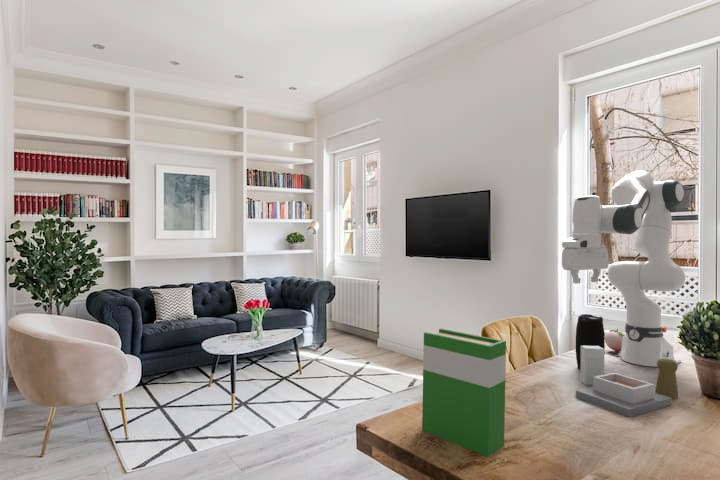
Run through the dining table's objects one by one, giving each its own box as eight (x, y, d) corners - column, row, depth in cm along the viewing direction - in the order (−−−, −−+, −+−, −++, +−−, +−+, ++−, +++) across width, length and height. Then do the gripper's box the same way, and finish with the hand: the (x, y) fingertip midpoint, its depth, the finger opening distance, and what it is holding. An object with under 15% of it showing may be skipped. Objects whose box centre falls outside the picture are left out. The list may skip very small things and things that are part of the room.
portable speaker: (577, 364, 166) (578, 312, 165) (605, 369, 160) (607, 316, 160) (572, 370, 159) (574, 316, 158) (602, 375, 153) (603, 319, 153)
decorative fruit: (599, 350, 188) (599, 326, 187) (614, 349, 190) (614, 326, 190) (618, 356, 179) (618, 331, 178) (633, 354, 181) (634, 330, 181)
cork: (682, 399, 131) (683, 363, 131) (660, 398, 132) (660, 361, 132) (672, 392, 137) (673, 357, 137) (651, 391, 138) (651, 356, 138)
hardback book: (422, 430, 108) (423, 332, 107) (439, 421, 113) (441, 328, 113) (488, 456, 95) (490, 346, 95) (504, 445, 101) (506, 341, 100)
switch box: (617, 387, 141) (617, 368, 141) (671, 404, 127) (671, 384, 127) (575, 396, 132) (576, 377, 132) (629, 416, 118) (629, 394, 118)
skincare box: (598, 381, 146) (599, 345, 146) (604, 385, 142) (605, 349, 142) (579, 380, 147) (580, 345, 147) (584, 385, 143) (585, 348, 143)
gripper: (597, 242, 158) (596, 280, 159) (558, 242, 149) (558, 283, 149) (614, 242, 153) (613, 282, 153) (575, 242, 143) (574, 285, 144)
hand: (585, 282), depth 151 cm, fingers open, 8 cm apart
